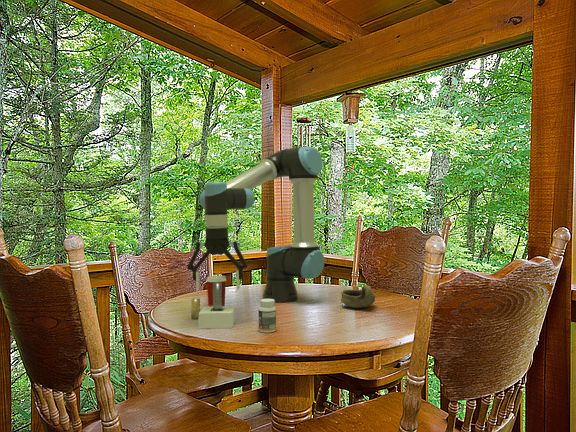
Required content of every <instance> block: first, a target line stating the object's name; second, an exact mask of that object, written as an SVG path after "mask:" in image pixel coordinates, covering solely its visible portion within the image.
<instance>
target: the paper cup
mask: <svg viewBox="0 0 576 432" xmlns="http://www.w3.org/2000/svg"><path fill="white" fill-rule="evenodd" d="M226 281H227V279H226V276H225V275H210V276H207V278H206V280H205V282H206V289H207V303H208V305H207V306H213V283H222V306H226V305H225V304H226V286H227V285H226V284H227V282H226Z"/></svg>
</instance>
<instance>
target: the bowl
mask: <svg viewBox="0 0 576 432" xmlns="http://www.w3.org/2000/svg"><path fill="white" fill-rule="evenodd" d="M340 293H341V294H340V295H341V298H340V302H341V303H343V304H344V305H346V306H347V307H349V308H354V309H365V308H368V307H370V306H371V305H373V304H374V303H375V301H376V299H375V298H376V294H375V292H373V290H372V287H371V286H370V285H363V286H362V289H343V290H342V291H340Z"/></svg>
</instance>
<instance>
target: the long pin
mask: <svg viewBox="0 0 576 432" xmlns="http://www.w3.org/2000/svg"><path fill="white" fill-rule="evenodd" d="M213 311H222V283H213Z"/></svg>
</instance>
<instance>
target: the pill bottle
mask: <svg viewBox="0 0 576 432" xmlns="http://www.w3.org/2000/svg"><path fill="white" fill-rule="evenodd" d="M275 304H276V302H275V300H274V299H263V298H262V299H260V300H259V305H260V306H259V307H258V309H257V310H258V331H259V332H260V333H264V334H267V333H268V334H269V333H274V332H275V331H276V330H277V307H276V306H275Z"/></svg>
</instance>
